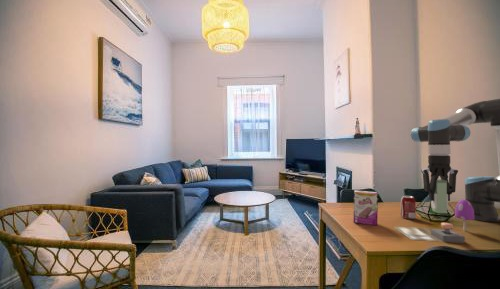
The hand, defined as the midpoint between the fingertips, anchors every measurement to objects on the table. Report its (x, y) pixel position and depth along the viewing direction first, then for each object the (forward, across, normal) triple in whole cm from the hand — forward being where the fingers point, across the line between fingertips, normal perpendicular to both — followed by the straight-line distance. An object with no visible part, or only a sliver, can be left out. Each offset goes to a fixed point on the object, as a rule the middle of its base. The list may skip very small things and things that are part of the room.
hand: (439, 208), depth 101 cm
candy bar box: (+13, +26, -15) cm, 33 cm away
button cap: (+11, -2, +1) cm, 11 cm away
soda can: (+13, -1, -29) cm, 32 cm away
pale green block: (+2, 0, 0) cm, 2 cm away
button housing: (+13, -2, +1) cm, 13 cm away
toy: (+13, -16, -10) cm, 23 cm away
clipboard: (+13, +5, -3) cm, 14 cm away
